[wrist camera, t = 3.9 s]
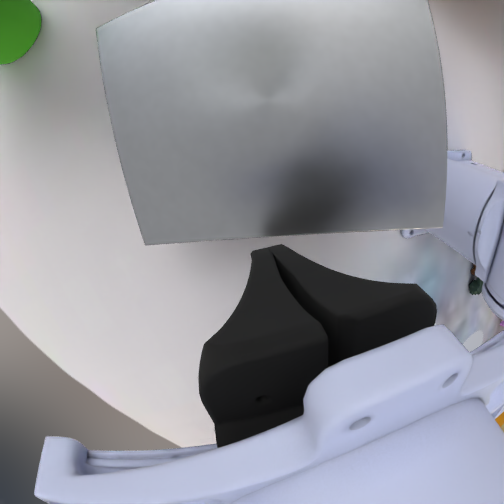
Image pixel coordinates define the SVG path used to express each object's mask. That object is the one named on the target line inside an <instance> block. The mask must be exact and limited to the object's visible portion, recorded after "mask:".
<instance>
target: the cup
mask: <svg viewBox="0 0 504 504" xmlns="http://www.w3.org/2000/svg"><path fill="white" fill-rule="evenodd" d="M40 28H41V15H40V11H39V10H38V8H37V7H36V6H35V5H34V4H33V3H32V2H31V1H30V0H0V65H1V64H8V63H11V62H13V61H15V60H17V59H19V58H20V57H22V56H23V55H24V54H25V53H26V52H27V51H28V50H29V49H30V48H31V46H32V45H33V44H34V42H35V40H36V39H37V37H38V34H39V32H40Z"/></svg>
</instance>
